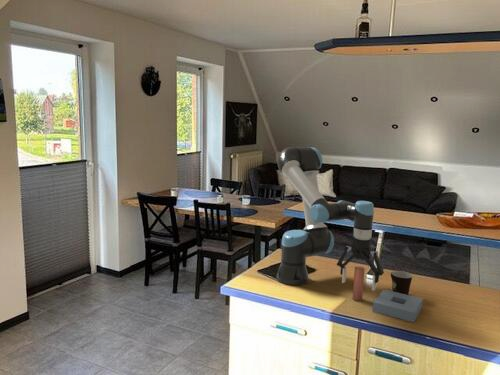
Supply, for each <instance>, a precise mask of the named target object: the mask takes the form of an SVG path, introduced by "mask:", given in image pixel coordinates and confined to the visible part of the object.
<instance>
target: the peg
mask: <svg viewBox="0 0 500 375" xmlns="http://www.w3.org/2000/svg"><path fill="white" fill-rule="evenodd" d="M365 269H366V268H365V267H363V266H355V267H354V276H353V277H354V278H353V287H352V289H353V292H352V300H353V301H356V302H361V301H363V293H364V282H365V281H364V280H365Z"/></svg>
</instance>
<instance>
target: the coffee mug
mask: <svg viewBox="0 0 500 375" xmlns="http://www.w3.org/2000/svg"><path fill="white" fill-rule="evenodd" d="M390 278H391V288H392V290H391V291H393V292H397V293H402V294H406V295H409V292H410V288H411V283H412V280H413V275H412V274H411V273H409V272H407V271H403V270H393V271H392V272H390Z"/></svg>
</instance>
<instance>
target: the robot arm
mask: <svg viewBox="0 0 500 375" xmlns="http://www.w3.org/2000/svg"><path fill="white" fill-rule="evenodd" d="M322 164H323V156H322V154H321V151H320V150H318V148H315V147H311V146H290V147H286V148H284V149H282V150H281V151H280V153H279V155H278V156H277V167H278V170H279V172H280V173H281V175H282V176H284V177H286V178H287V179H288V180H289V181H290V183H291V184H292V185H293V187H294V188H295V190H296V191H297V192H298V193H299V195H300V196H301V198H302V199H301V200H302V206H303V214H304V219H305V227H304V228H303V229H291V230H287V231H285V232H284V233H283V235H282V238H281V239H282V240H281V256H280V257H281V259H280V260H281V262H280V265H279V266H278V270H277V273H276V280H277V279H278V280H277V281H278V282H279V281H280V283H281V284H284V285H290V286H300V285H301V286H302V285H305V284H307V283H308V282H309V273H308V270H307V266H306V263H307V262H306V261H307V260H306V259H307V258H309V257H310V258H311V257H317V256H324V255H326V254H329V253H330V252H332V250H333V248H334V246H335V237H334V235H333V233H332V231H331V230H329V229H328V225H326V224H325V223H326V222H333V221H343V220H348V221H351V222H353V233H352V236H353V237H352V244H351V245H352V247H351V246H350V245H346V246H345V247H344V251H343V253H342V254H341V256H340V257H339V259H338V261H337V263H336V266H338V267H340V272H339V273H340V275H341V283H342V284H344V283H346V282H347V280H346V279H347V265H348V264H349V263H350V262H351V261H352V260H353V259H354V258H355V259H356V260H361V261H365V263H367V264H368V266H369V268H370V270H371V271H372V272H373V275H372V285H371V291H375V290H376V286H377V283H379V281H380V280H379V279H380V276H382V275H383V274H384V273H385V272H384V269H383V266H382V264H381V263H382V262H381V260H380V258H379V251H378V250H375V251H372V250H371V249H372V248H371V247H372V239H371V238H372V235H373V234H372V233H373V222H374V215H375V214H374V213H375V211H374V210H375V208H374V207H375V206H374V203H373V202H371V201H367V200H357V201H356V202H355V203H353V202H351V201H348V200H338V201H337V202H332V203H331V202H328V201H327V199H326V198H325V197H324V195H322V193H321V192H320V190H319V182H318V177H317V175H318V174H319V173H320V170H319V169H321V168H322ZM350 251H351V253H352V254H351V255H350V256H349V258H347V259H346V260H345V258H346V256H347V255H348V253H349V252H350ZM370 256H372V258H373V260H372V258H371V257H370ZM344 260H345V261H344ZM343 261H344V262H343ZM373 261H374V262H375V263H374V262H373Z"/></svg>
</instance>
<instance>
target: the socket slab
mask: <svg viewBox="0 0 500 375" xmlns="http://www.w3.org/2000/svg"><path fill="white" fill-rule="evenodd" d="M423 300H424V298H421V297H417V296H413V295H409V294H408V295H406V294H402V293H397V292H393V291H392V290H388V289H385V288H384V289H383V290H382V291H381V293H379V295H378V296H377V297H376V298H375V300H373V302H372V312H374V313H377V314H381V315H385V316H387V317H388V316H389V317H392V318H397V319H399V320H403V321H406V322H411V323H415V321H416V319H417V317H418V316H419V314H420V312H421V310H422V308H423V303H424V302H423Z"/></svg>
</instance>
